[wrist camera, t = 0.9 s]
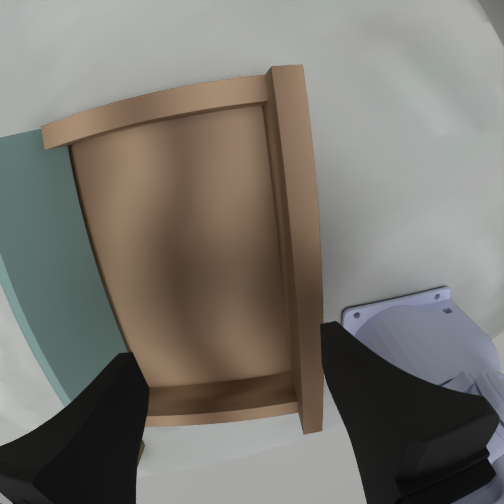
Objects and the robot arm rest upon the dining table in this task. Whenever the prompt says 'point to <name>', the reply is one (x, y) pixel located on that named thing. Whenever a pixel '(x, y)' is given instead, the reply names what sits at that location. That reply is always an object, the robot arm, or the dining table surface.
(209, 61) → the dining table surface
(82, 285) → the panel
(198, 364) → the brown wooden drawer
